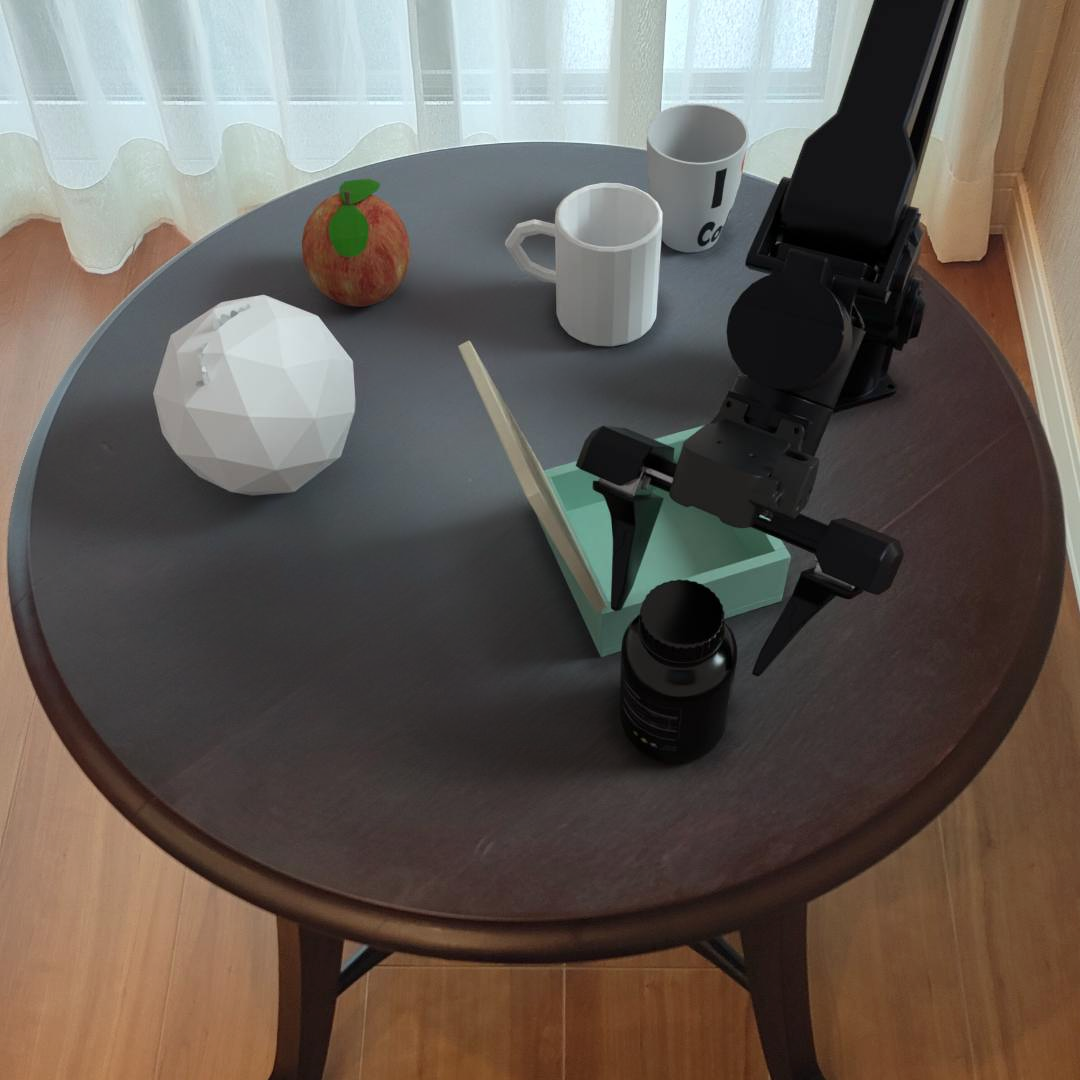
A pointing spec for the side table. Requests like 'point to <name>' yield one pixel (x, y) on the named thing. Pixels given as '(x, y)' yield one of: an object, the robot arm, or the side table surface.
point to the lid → (531, 476)
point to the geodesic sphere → (256, 396)
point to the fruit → (356, 246)
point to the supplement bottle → (677, 673)
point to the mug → (601, 262)
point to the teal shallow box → (665, 553)
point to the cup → (695, 172)
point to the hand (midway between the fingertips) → (684, 641)
